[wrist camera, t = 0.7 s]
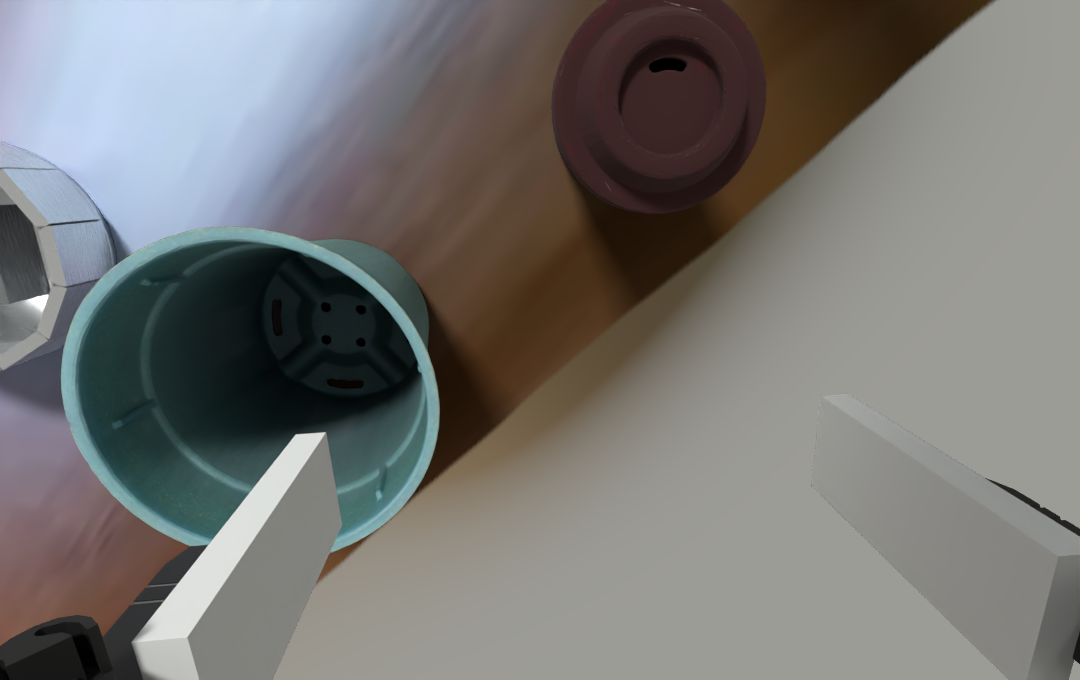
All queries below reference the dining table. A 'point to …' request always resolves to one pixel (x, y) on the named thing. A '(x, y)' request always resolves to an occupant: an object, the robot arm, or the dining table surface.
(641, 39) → the coffee cup
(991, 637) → the robot arm
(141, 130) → the dining table surface
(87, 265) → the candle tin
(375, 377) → the flower pot
